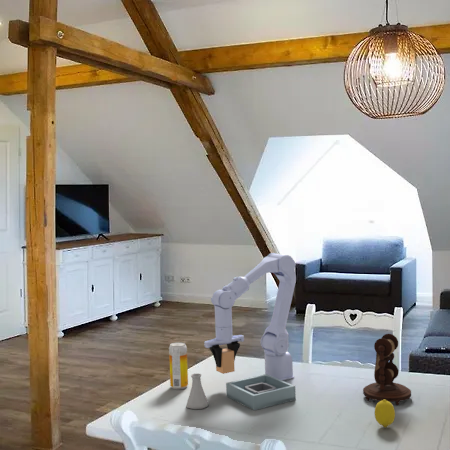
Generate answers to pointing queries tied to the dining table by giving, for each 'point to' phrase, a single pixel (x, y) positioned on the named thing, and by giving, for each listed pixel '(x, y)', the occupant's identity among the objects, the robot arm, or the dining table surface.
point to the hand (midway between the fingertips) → (225, 365)
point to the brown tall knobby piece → (386, 374)
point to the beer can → (178, 365)
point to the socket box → (260, 391)
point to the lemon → (384, 413)
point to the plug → (226, 361)
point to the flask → (197, 394)
